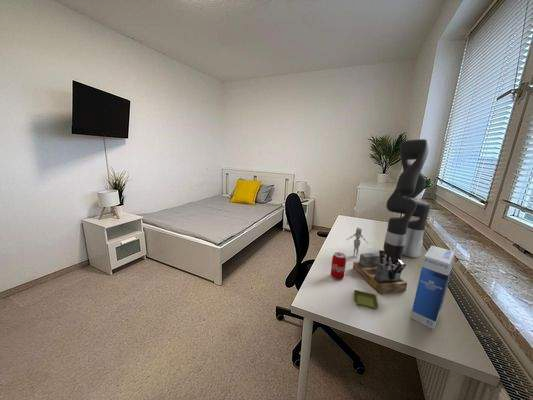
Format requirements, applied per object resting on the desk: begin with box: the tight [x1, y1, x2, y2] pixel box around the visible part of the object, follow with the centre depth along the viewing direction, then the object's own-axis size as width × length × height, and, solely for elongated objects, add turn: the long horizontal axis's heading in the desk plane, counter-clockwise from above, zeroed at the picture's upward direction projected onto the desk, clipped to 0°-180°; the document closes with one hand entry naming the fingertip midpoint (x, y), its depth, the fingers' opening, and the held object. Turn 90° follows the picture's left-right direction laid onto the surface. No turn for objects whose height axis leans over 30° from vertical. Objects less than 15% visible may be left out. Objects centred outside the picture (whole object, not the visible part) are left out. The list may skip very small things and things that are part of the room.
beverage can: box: [330, 252, 347, 281], centre depth 103 cm, size 6×6×12 cm
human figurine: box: [346, 227, 369, 259], centre depth 123 cm, size 12×4×18 cm, turn 66°
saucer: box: [353, 289, 379, 310], centre depth 87 cm, size 9×9×2 cm
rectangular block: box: [374, 266, 402, 284], centre depth 96 cm, size 10×3×8 cm, turn 100°
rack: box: [352, 252, 408, 294], centre depth 102 cm, size 14×20×10 cm
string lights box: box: [410, 245, 456, 330], centre depth 78 cm, size 13×8×26 cm, turn 133°
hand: (388, 276), depth 96 cm, fingers closed on rectangular block, 3 cm apart
